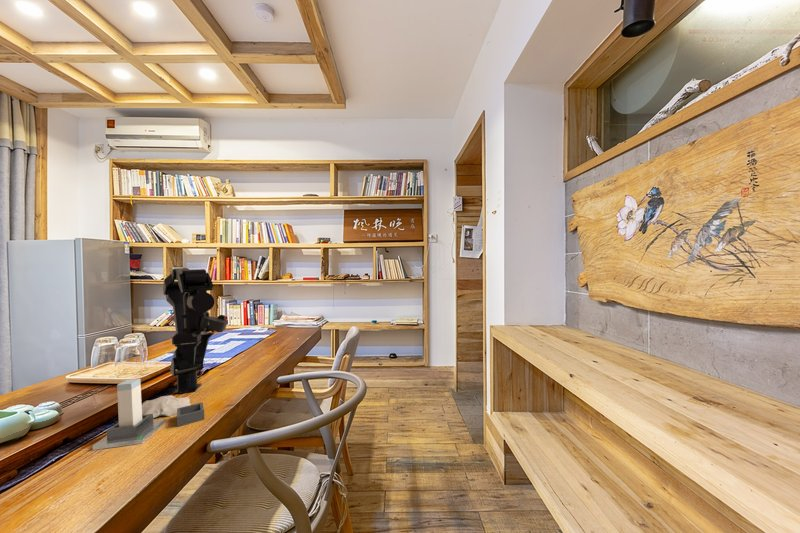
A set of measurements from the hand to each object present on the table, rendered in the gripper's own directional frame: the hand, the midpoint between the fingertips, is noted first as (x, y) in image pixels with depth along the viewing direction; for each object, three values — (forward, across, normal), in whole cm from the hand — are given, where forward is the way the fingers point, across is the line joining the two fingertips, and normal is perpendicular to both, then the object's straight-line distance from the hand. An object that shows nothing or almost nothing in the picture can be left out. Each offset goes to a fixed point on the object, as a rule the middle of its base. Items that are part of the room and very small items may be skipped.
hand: (197, 360), depth 96 cm
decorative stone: (+14, -3, +8) cm, 16 cm away
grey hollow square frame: (+13, -11, -1) cm, 17 cm away
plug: (+12, -16, +10) cm, 22 cm away
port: (+13, -16, +10) cm, 23 cm away
